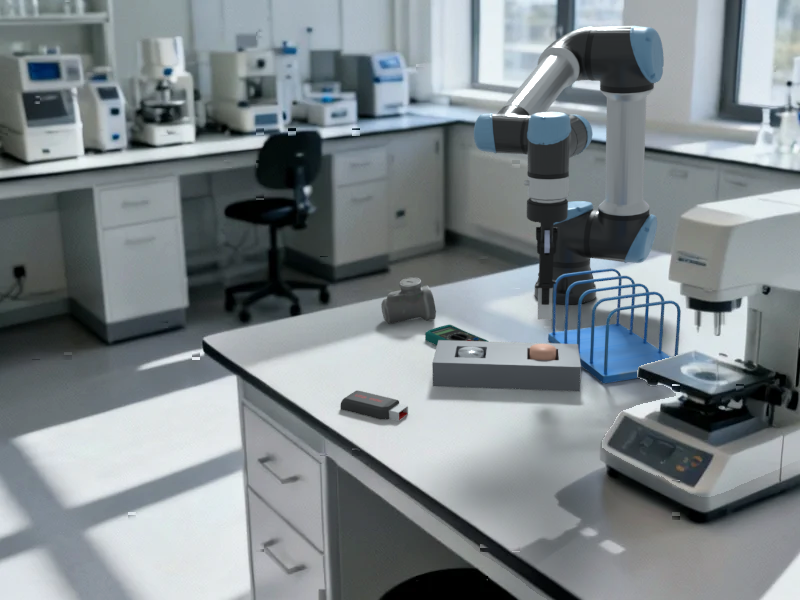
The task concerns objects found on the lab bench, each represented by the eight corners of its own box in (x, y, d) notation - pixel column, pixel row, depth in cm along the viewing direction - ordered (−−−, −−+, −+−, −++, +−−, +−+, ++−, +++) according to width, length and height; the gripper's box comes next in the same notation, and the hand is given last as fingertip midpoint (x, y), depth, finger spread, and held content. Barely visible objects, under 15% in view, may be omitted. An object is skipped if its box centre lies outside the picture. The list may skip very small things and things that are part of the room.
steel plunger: (484, 365, 185) (484, 347, 184) (482, 375, 180) (483, 356, 179) (459, 364, 186) (459, 346, 184) (457, 374, 181) (457, 355, 180)
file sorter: (547, 341, 201) (549, 273, 196) (618, 331, 206) (622, 265, 201) (603, 384, 178) (607, 309, 173) (682, 372, 183) (688, 299, 178)
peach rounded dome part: (555, 363, 183) (555, 344, 182) (555, 372, 178) (556, 353, 177) (529, 362, 184) (530, 343, 182) (529, 371, 179) (529, 352, 178)
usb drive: (356, 400, 174) (355, 387, 173) (410, 413, 168) (410, 400, 167) (340, 410, 170) (339, 397, 169) (395, 425, 164) (395, 410, 163)
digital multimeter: (466, 362, 191) (466, 348, 190) (423, 341, 203) (423, 329, 202) (493, 353, 195) (493, 340, 195) (450, 334, 207) (449, 322, 206)
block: (576, 367, 186) (577, 344, 185) (579, 391, 175) (580, 367, 173) (438, 362, 190) (438, 340, 188) (432, 386, 179) (432, 362, 177)
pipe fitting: (431, 310, 220) (426, 271, 216) (439, 324, 213) (434, 283, 209) (381, 320, 218) (376, 280, 214) (388, 334, 211) (382, 293, 207)
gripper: (527, 190, 177) (525, 306, 185) (526, 206, 165) (524, 330, 172) (566, 190, 176) (563, 307, 184) (569, 206, 164) (565, 330, 171)
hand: (544, 318), depth 178 cm, fingers closed
